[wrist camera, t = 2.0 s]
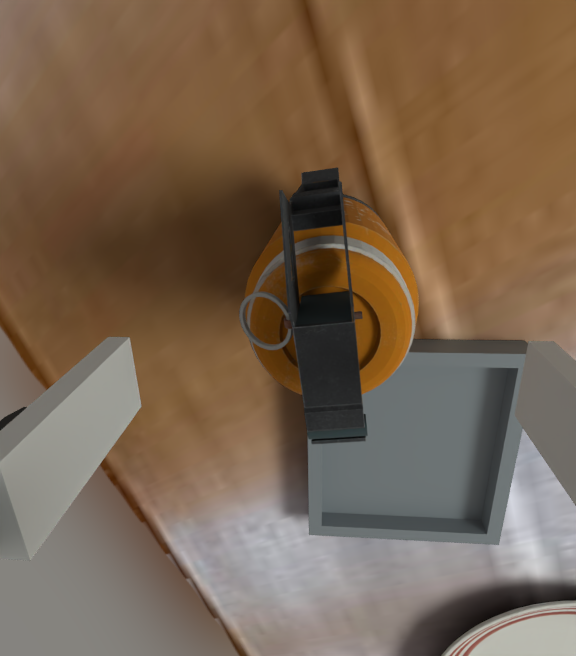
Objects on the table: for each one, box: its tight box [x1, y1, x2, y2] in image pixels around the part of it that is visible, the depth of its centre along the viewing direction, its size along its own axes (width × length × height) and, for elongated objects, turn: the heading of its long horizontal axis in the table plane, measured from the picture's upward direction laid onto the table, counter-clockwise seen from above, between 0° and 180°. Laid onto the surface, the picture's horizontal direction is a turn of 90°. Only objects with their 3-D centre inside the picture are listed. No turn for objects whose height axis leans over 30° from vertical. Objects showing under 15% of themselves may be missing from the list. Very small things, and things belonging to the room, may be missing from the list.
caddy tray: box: [308, 339, 528, 545], centre depth 40 cm, size 19×17×2 cm
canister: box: [239, 168, 419, 444], centre depth 25 cm, size 9×11×20 cm
